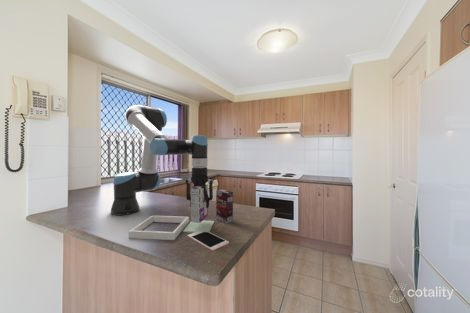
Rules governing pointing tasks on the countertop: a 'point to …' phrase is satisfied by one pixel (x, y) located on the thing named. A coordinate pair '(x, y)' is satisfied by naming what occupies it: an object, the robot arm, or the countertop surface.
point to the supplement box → (224, 206)
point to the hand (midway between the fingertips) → (199, 214)
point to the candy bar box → (198, 204)
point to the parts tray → (140, 234)
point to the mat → (199, 226)
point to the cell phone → (208, 240)
